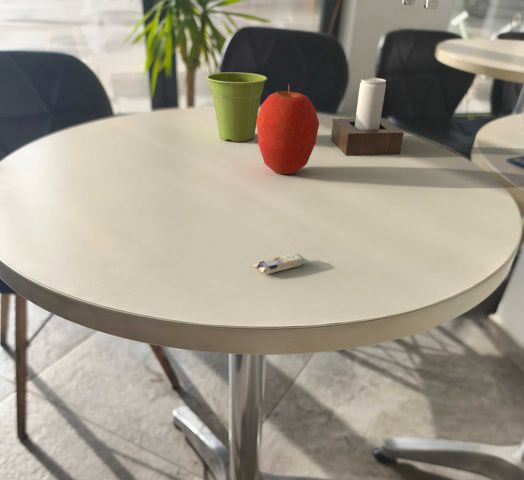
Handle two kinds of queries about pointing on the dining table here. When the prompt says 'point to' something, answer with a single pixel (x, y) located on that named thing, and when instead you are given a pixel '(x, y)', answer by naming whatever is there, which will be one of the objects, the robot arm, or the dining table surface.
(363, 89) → the beverage can
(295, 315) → the dining table surface
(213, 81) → the plant pot
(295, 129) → the apple
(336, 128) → the holder
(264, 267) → the granola bar
